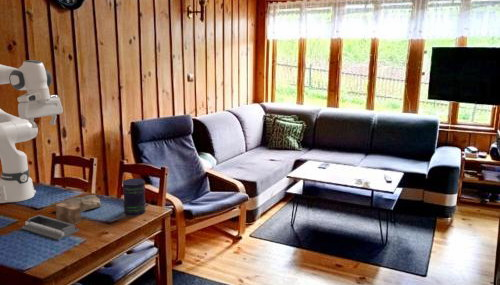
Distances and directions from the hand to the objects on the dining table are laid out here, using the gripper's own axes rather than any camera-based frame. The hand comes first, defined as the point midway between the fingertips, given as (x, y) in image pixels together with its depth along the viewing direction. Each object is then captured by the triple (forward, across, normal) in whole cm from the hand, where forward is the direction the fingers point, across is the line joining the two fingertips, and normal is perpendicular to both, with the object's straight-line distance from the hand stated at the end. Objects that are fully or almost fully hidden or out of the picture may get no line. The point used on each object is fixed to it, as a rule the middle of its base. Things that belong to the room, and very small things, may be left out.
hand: (44, 126), depth 186 cm
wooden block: (+41, +8, +17) cm, 45 cm away
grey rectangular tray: (+41, +18, +18) cm, 48 cm away
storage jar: (+43, -14, +35) cm, 57 cm away
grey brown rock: (+41, -5, +8) cm, 42 cm away
